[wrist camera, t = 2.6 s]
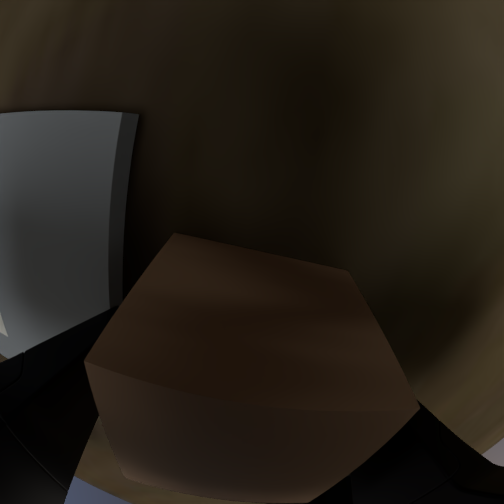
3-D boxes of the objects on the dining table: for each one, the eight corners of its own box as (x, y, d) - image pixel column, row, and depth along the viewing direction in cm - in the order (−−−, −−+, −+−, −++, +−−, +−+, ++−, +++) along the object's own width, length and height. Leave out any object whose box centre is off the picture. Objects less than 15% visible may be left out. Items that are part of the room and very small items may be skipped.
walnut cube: (347, 269, 8) (420, 407, 3) (295, 383, 10) (307, 502, 5) (175, 231, 8) (83, 360, 3) (163, 358, 10) (124, 477, 5)
